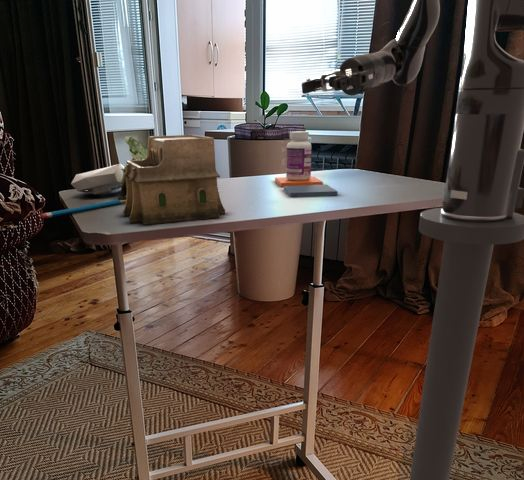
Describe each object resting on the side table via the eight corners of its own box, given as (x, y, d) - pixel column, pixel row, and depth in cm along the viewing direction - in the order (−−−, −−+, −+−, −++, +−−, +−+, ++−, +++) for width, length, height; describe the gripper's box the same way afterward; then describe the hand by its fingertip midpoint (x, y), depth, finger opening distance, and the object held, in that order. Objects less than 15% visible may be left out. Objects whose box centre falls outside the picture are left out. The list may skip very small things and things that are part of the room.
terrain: (186, 205, 94) (192, 196, 92) (144, 207, 87) (150, 197, 85) (151, 142, 96) (156, 132, 95) (108, 139, 90) (112, 129, 88)
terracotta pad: (314, 180, 114) (314, 176, 114) (322, 185, 106) (322, 181, 106) (275, 181, 114) (275, 177, 113) (280, 187, 106) (280, 183, 105)
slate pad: (326, 188, 103) (327, 184, 102) (337, 195, 95) (337, 191, 94) (283, 189, 102) (283, 185, 102) (290, 197, 94) (290, 192, 94)
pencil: (43, 214, 79) (44, 218, 79) (128, 198, 91) (129, 202, 92) (40, 214, 80) (41, 218, 80) (125, 198, 92) (126, 202, 92)
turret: (157, 187, 111) (151, 164, 110) (112, 187, 93) (105, 160, 92) (117, 196, 114) (111, 174, 113) (66, 198, 96) (59, 172, 94)
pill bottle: (309, 181, 107) (310, 132, 103) (284, 181, 108) (284, 132, 103) (311, 177, 112) (313, 130, 107) (288, 177, 113) (288, 131, 108)
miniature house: (204, 202, 90) (200, 133, 85) (230, 216, 78) (226, 137, 73) (119, 210, 85) (109, 137, 80) (133, 226, 73) (122, 142, 68)
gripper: (335, 58, 117) (290, 70, 108) (389, 51, 108) (345, 63, 99) (337, 94, 121) (295, 108, 112) (390, 89, 112) (348, 104, 103)
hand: (318, 86), depth 105 cm, fingers open, 8 cm apart
